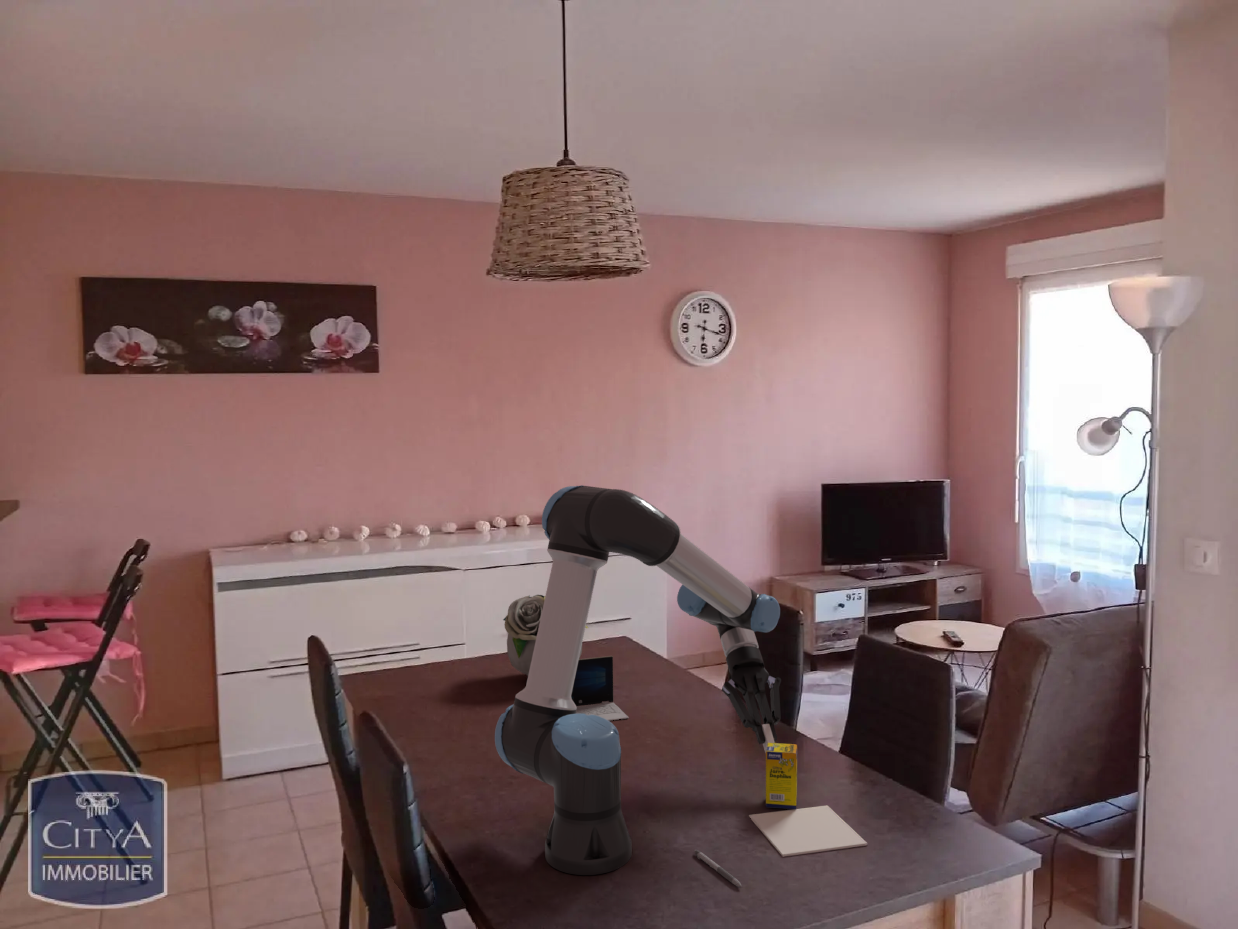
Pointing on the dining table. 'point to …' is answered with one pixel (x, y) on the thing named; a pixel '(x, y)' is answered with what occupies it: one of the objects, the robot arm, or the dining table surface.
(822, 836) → the mat
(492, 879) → the dining table surface
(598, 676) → the laptop
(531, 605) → the flower arrangement
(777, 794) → the supplement box
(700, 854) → the pen
